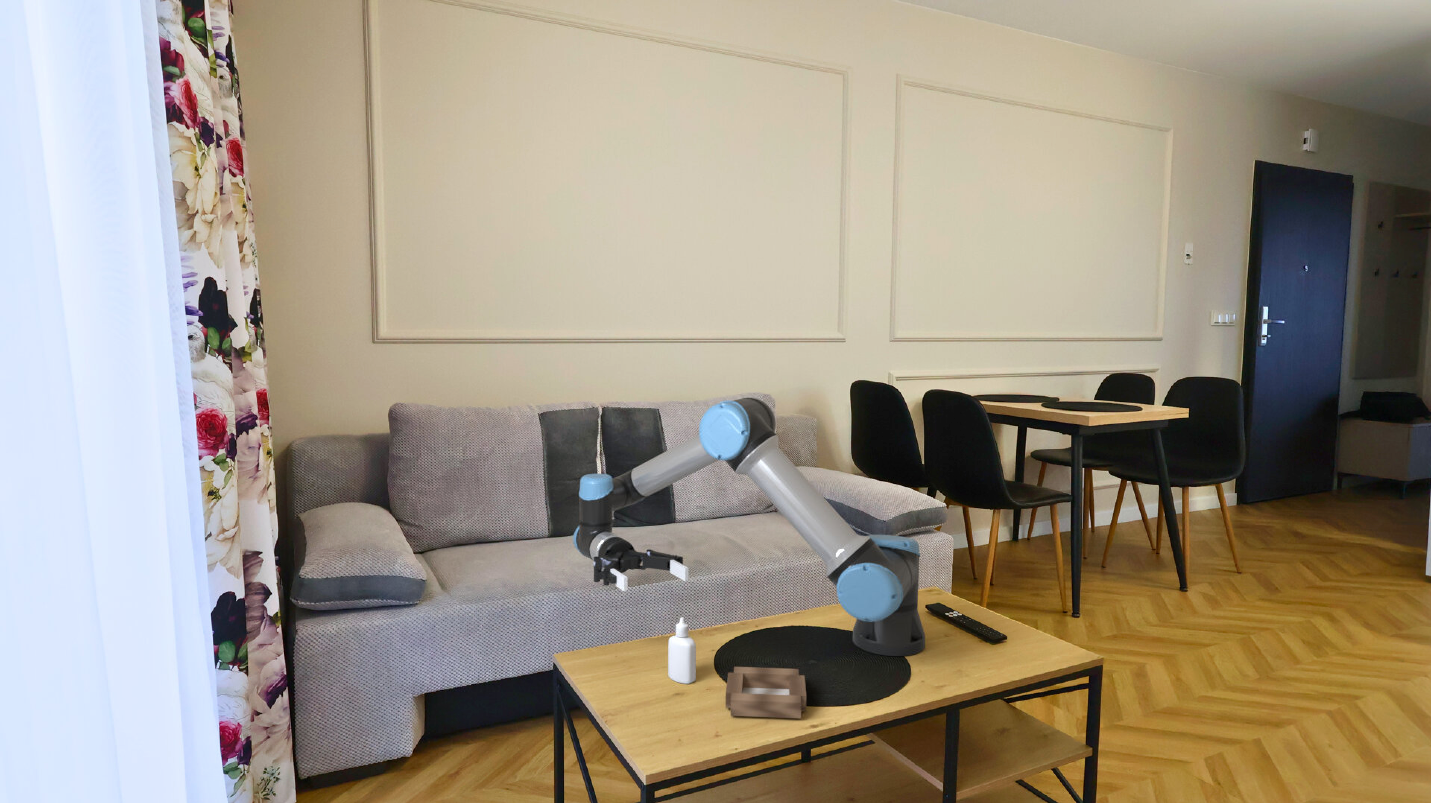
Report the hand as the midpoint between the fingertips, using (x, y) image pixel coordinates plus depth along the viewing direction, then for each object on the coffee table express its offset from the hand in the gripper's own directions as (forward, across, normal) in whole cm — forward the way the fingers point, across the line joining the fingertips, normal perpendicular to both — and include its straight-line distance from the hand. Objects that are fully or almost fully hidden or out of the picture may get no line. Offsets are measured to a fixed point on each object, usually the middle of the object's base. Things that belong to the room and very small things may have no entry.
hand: (657, 579), depth 163 cm
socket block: (+26, -9, -16) cm, 32 cm away
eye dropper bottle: (+10, 0, -17) cm, 20 cm away
